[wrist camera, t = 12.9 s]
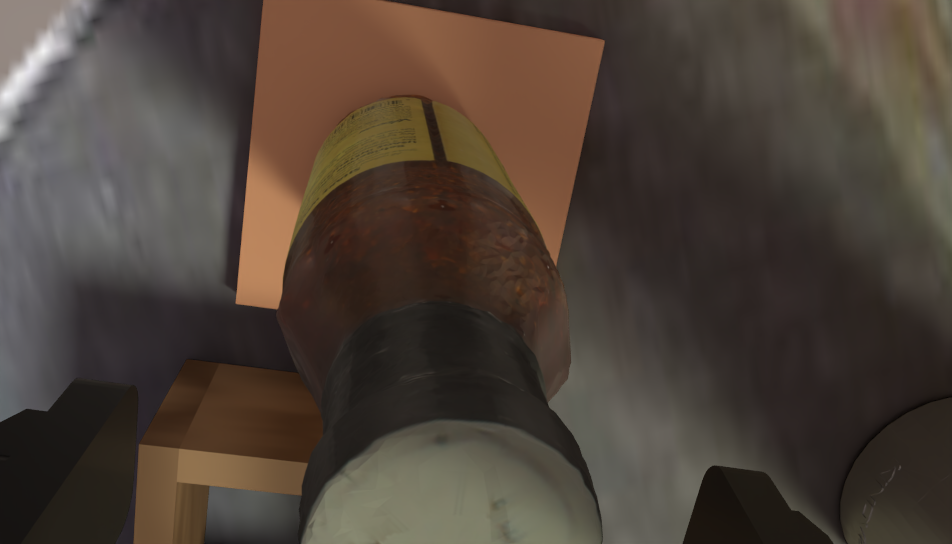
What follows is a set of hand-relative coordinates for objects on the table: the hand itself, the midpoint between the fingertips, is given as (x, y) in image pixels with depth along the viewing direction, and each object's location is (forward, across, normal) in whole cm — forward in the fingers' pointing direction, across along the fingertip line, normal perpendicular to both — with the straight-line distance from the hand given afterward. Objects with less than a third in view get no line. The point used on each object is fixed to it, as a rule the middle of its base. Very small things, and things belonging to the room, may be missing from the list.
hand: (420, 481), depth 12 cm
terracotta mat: (+19, 0, 0) cm, 19 cm away
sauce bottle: (+19, 0, 0) cm, 19 cm away
